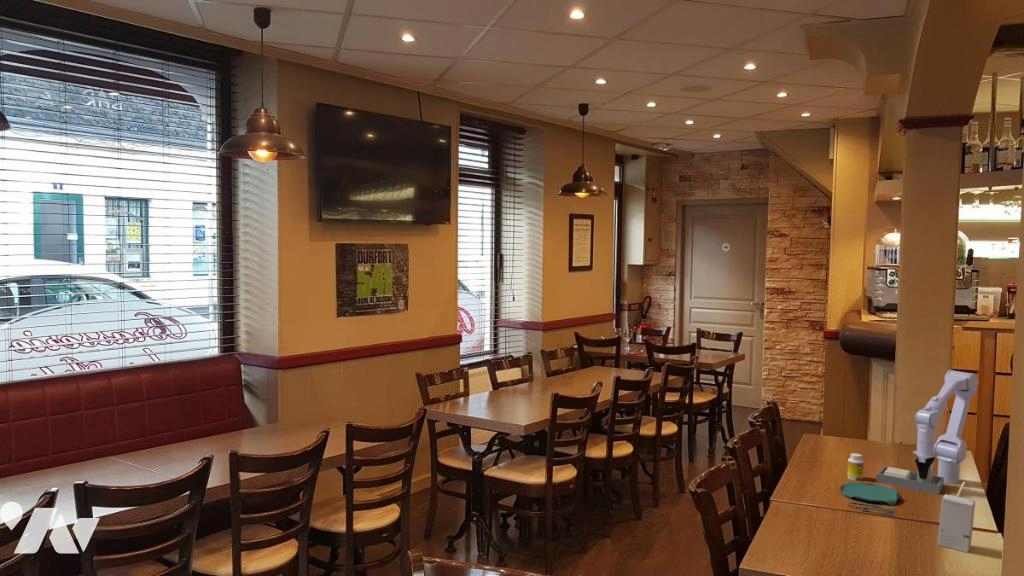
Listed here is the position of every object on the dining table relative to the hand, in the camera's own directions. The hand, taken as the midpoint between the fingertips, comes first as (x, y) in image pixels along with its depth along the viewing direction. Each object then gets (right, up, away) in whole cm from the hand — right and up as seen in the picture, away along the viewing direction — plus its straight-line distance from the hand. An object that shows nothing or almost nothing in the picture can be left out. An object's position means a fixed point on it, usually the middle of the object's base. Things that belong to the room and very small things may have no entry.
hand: (923, 476), depth 272 cm
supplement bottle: (-22, -4, +9) cm, 24 cm away
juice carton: (0, -3, 0) cm, 3 cm away
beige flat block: (-7, -3, +6) cm, 10 cm away
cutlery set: (-28, -5, -13) cm, 31 cm away
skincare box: (-22, -7, -54) cm, 59 cm away
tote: (-4, -4, +3) cm, 6 cm away
